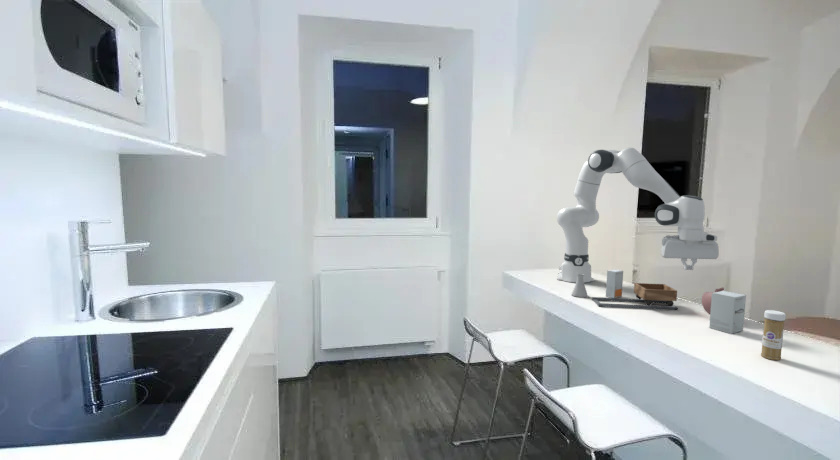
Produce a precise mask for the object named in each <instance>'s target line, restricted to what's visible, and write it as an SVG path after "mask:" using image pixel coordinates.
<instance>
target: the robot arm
mask: <svg viewBox="0 0 840 460" xmlns="http://www.w3.org/2000/svg"><path fill="white" fill-rule="evenodd" d="M620 173H621V174H622V175H624V177H625V179H626V180H627V181H628V183H630V184H631V185H632V186H633V187H635V188H638V189H642V190H646V191H649V192H650V193H653V194H655V195H657V196H658V197H659V198H660V199H661V200H662V202H664V203H661V204H659V205H658V206H657V208H656V209H655V212H654V218H655V221H656V223H658V225H661V226H664V227H677V234H675V235H667V234H666V235H665V236H663V237H662V239H661V241H662V242H661V250H660V251H661V252H660V255H661V256H662V258H664V259H680V262H681V264H682V265H683V270H686V271H687V270H689V271H693V270H694V266H695V265H696V263H697V262H698V260H717V259H718V258H719V254H720V253H719V252H720V249H719V248H720V247H719V244H718V242H717V240H718V236H717V235H715V234H712V233H708V232H704V228H705V227H704V220H705V213H706V212H705V210H706V208H705V202H704V199H703V198H702V197H701V196H698V195H697V196H696V195H691V194H690V195H689V194H686V195H680V194H679V193H678V192H677V191H676V190H675V189H674V188H673V187H672V185H670V183H669V182H668V181H667V180H666V179H664V178H663V177H662V176H661V175H660V173H658V172H657V171H656V170H655V168H654V167H653V166H652V165H651V163H649V161H648V160H647V159H646V157H645V156H644V155H643V154H642V153H641V152H640V151H638V150H637V149H636V148H634V147H626V148H623V149H621V150H616V149H597V150H594V151H592V152H591V153H590V154H589V156H588V159H587V160H586V161H585V162H584V163H583V165H582V167H581V169H580V171H579V174H578V177H577V181H576V184H575V186H574V191H573V195H574V197H575V198H576V206H567V207H564V208H562V209H560V210H559V211H558V212H557V214H556V221H557V223H558V225H559V226H560V227H561V228H562V230H563V233H564V237H565V253H564V255H563V259H564V260H563V262H562V263H561V265H560V266H558V271H559V273H557V276H556V277H557V278H556V279H557V280H559V281H563V282H568V283H576V282H577V274H579V273H580V274H584V276H583V281H584V284H585V283H591V282H595V278H593V277H592V265H591V264H590V263H589V259H590V257H589V239H588V237H586V235H585V233H584V229H583V228H589V227H593V226H594V225H596V224H597V223H598V222H599V219H600V215H599V214H600V213H599V211H598V210H597V205H596V204H597V203H596V202H597V196H598V193H599V189H600V186H601V183H602V180H603V176H605V175H606V174H620ZM689 259H690V261H691V262H690V264H688V263H687V262H688V260H689Z"/></svg>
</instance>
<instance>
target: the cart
mask: <svg viewBox="0 0 840 460" xmlns="http://www.w3.org/2000/svg"><path fill="white" fill-rule="evenodd" d="M633 288H634V289H633V293H634V294H635V296H636V299H644V300H645V303H644V305H653V303H652V301H651V300H661V301H666V304H667V305H666V304H665V305H666V306H673V305H674V304H675V302H677V300H678V298H677V296H678V290H677V289H674V288H673V287H671V286H669V285H667V284H666V283H643V282H642V283H641V282H634V287H633Z"/></svg>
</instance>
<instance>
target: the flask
mask: <svg viewBox="0 0 840 460" xmlns="http://www.w3.org/2000/svg"><path fill="white" fill-rule="evenodd" d="M583 276H584V274H580V273H579V274H577V282H575V284H574V287H573V290H572V292H571V296H573V297H575V298H588V297H589V296H588V292H587V289H586V285H585V283H584V281H583Z"/></svg>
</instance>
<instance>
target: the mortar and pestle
mask: <svg viewBox="0 0 840 460" xmlns="http://www.w3.org/2000/svg"><path fill="white" fill-rule="evenodd" d="M721 291H725V288H724V287H723V286H722V287H720V288H715V290H714V291H713V292H712V291H705V292H704V293H703V294H702V298H701V305H702V308H703V309H704V311H705V312H706V313H707V314H708V315H710V313H711V300H712V293H715V292H721Z"/></svg>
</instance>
